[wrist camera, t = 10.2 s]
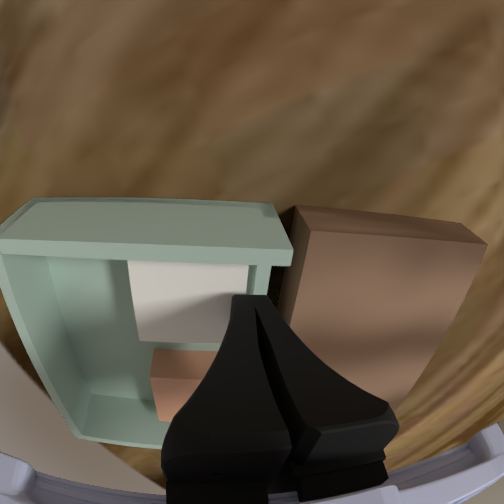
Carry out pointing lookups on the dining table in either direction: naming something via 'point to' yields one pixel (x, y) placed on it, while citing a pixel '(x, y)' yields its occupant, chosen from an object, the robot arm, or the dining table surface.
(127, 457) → the dining table surface
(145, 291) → the white tile
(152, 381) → the terracotta tile
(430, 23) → the dining table surface
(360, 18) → the dining table surface
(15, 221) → the green bin
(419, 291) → the walnut plate
